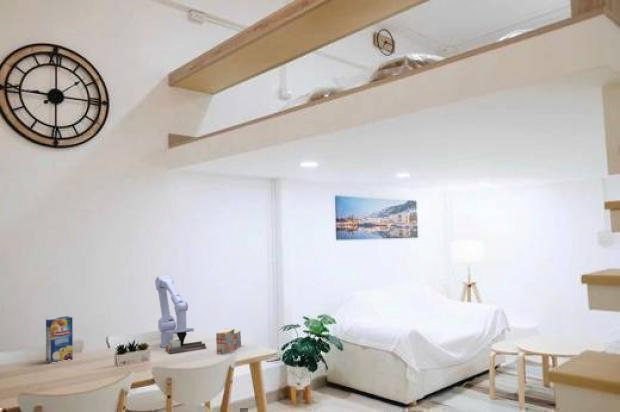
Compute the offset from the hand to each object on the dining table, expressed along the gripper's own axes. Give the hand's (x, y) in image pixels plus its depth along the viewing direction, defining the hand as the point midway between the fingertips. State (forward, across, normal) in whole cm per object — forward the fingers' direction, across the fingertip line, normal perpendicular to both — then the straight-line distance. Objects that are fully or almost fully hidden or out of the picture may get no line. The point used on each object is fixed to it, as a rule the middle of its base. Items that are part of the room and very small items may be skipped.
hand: (181, 344), depth 296 cm
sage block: (+2, -4, 0) cm, 4 cm away
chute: (+3, +2, 0) cm, 4 cm away
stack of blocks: (+4, +24, -16) cm, 29 cm away
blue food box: (+3, -66, +19) cm, 68 cm away
